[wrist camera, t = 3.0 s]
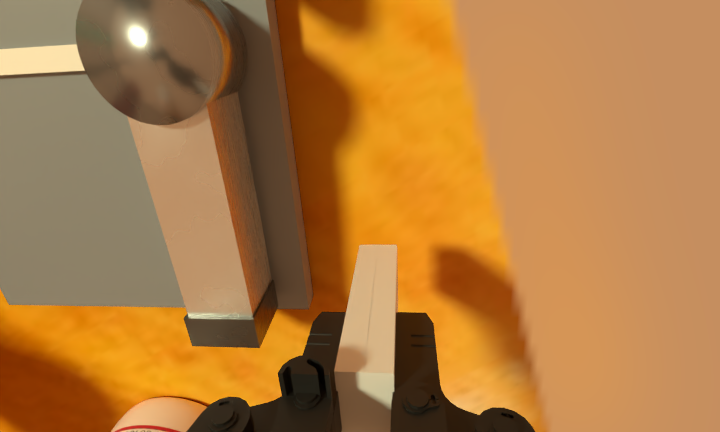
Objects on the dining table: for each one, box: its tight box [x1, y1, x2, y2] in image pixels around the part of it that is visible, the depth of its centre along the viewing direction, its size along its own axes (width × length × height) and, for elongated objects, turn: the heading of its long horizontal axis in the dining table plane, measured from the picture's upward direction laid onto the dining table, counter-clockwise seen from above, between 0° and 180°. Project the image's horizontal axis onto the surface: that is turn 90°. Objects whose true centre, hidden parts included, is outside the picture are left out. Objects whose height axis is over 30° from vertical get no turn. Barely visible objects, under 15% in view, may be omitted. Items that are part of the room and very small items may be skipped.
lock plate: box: [0, 0, 313, 309], centre depth 15 cm, size 26×18×5 cm
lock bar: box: [76, 0, 278, 348], centre depth 16 cm, size 14×4×3 cm, turn 3°
